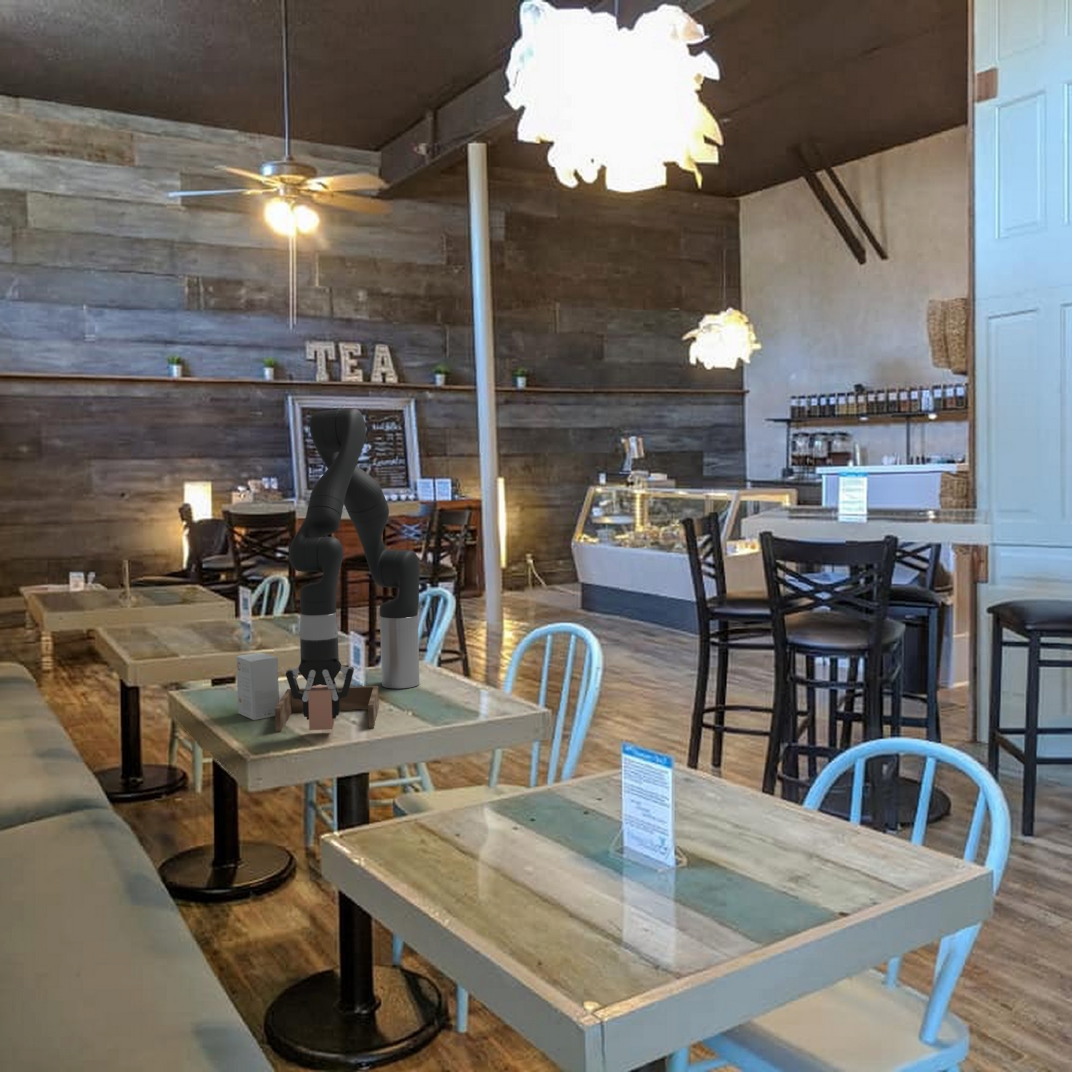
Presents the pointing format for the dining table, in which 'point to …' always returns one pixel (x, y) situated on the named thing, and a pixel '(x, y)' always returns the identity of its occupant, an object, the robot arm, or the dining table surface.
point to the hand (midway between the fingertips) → (321, 717)
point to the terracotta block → (320, 708)
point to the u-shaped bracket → (354, 700)
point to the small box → (257, 685)
